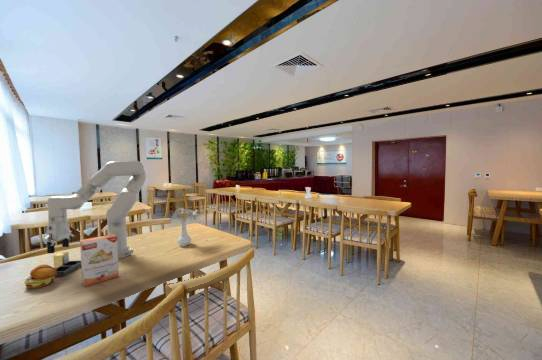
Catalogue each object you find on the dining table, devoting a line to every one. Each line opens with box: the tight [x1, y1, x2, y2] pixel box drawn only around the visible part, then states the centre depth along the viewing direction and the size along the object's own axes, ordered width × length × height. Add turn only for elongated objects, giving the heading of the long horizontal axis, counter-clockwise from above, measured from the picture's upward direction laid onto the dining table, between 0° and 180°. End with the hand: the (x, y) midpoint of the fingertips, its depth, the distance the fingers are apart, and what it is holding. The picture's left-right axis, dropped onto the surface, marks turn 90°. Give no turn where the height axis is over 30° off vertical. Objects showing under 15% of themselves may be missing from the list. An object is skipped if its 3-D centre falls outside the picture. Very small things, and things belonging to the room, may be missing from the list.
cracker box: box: [79, 234, 120, 287], centre depth 116 cm, size 14×6×21 cm, turn 135°
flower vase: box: [170, 208, 199, 247], centre depth 165 cm, size 13×18×25 cm
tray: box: [54, 259, 81, 278], centre depth 127 cm, size 7×14×2 cm, turn 4°
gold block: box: [52, 251, 70, 269], centre depth 132 cm, size 5×4×7 cm
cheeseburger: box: [24, 264, 57, 290], centre depth 112 cm, size 10×11×10 cm
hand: (58, 249), depth 131 cm, fingers open, 9 cm apart
